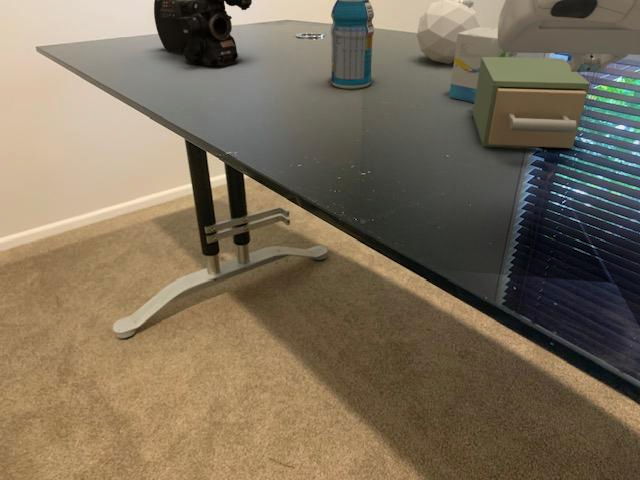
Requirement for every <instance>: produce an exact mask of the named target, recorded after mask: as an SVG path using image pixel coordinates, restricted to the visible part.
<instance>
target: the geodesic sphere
mask: <svg viewBox="0 0 640 480" xmlns="http://www.w3.org/2000/svg"><path fill="white" fill-rule="evenodd" d="M473 7H474V1H472V0H469V1H468V0H466V1H465V0H438V1H435V2H432V3H431V4H430V5H429V6H428V7H427V9H425V11H424V12H423V14H422V15H421V16H420V17H419V22H418V28H417V34H416V38H417V43H418V45H419V50H420V52H422V53H423V54H424V55H426V56H427V57H428V58H429V59H431V60H432V61H433V62H437V63H443V64H448V65H449V64H450V65H451V64H453V63H454V58H455V51H456V43H457V36H458V33H460V32H463V31H467V30H470V29H473V28H477V27H481V25H480V21H479V18H478V15H477V11H476V10H475V9H473Z"/></svg>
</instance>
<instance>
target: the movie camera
mask: <svg viewBox="0 0 640 480" xmlns="http://www.w3.org/2000/svg"><path fill="white" fill-rule="evenodd" d="M225 3H226V4H225ZM252 4H253V0H154V3H153V16H154V17H153V18H154V23H155V28H156V30H157V34H158V37H159V40H160V43H161V44H162V47H163V48H164V49H165V51H167V52H169V53H173V54H177V55H183V58H184V59H185V60H186V61H187V64H188V65H193V66H195V65H200V64H201V65H205V66H212V67H213V66H214V67H215V66H229V65H232V64H236V63H239V62H240V60H238V58H239V53H238V50H237V44H236V40H235V38H234V37H233V36H232V35H231V32H232V28H233V25H232V19H233V17H232V16H231V15H229V14H228V12H227V10H226V5H227V6H229V7H235V6H236V7H238V8H240V10H241V11H247V9H250V7H251V5H252ZM219 59H223V60H222V61H220V60H219Z"/></svg>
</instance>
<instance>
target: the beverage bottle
mask: <svg viewBox="0 0 640 480" xmlns="http://www.w3.org/2000/svg"><path fill="white" fill-rule="evenodd" d="M330 17H331V19H332V23H331V26H330V36H331V38H330V40H331V45H330V46H331V47H330V48H331V77H330V81H331V82H330V83H331V84H332V85H333V87H336V88H340V89H344V90H345V89H346V90H358V89H363V88H367V87H369V85H371V83H372V57H373V56H372V55H373V36H374V33H375V26H374V24H373V19H374V17H375V13H374V8H373V6H372V4H371V2H370V0H336V1H335V3H334V5H333V6H332V9H331V14H330Z"/></svg>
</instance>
